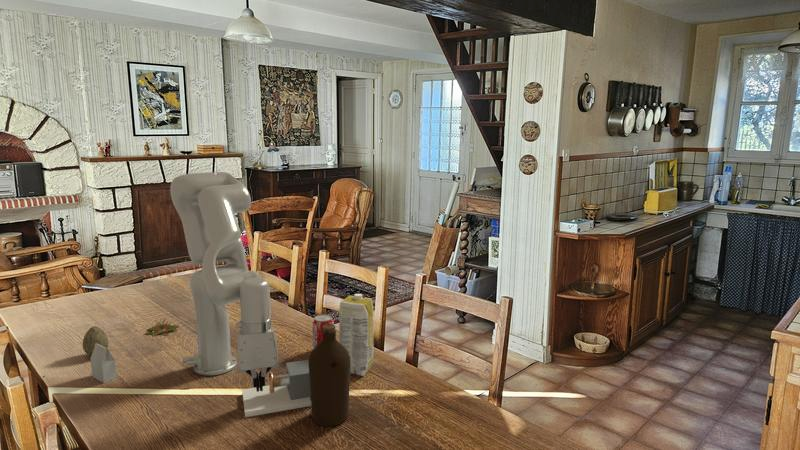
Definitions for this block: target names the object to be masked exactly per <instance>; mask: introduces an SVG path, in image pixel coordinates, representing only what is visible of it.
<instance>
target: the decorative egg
mask: <svg viewBox="0 0 800 450" xmlns="http://www.w3.org/2000/svg"><path fill="white" fill-rule="evenodd" d="M95 344H99V345H101V346H103V347H105V348H107V349H108V347H109V339H108V336H107V334H106V333H105V332H104V330H103V329H101V328H100V327H99V326H91V327H90V328H89V329H88V330H87V332H85V334H84V337H83V339H82V348H83V349H82V350H84V353H85V354H86V355H88V356H90V357H91V356H92V353H93V350H94V347H95Z"/></svg>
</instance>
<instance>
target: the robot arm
mask: <svg viewBox="0 0 800 450" xmlns="http://www.w3.org/2000/svg"><path fill="white" fill-rule="evenodd" d="M170 198H171V201H172V204H173V206H174V209H175V210H176V212H177V214H178V216H179V218H180V220H181V222H182V227H183V233H184V239H185V243H186V247H187V251H188V255H189V258H190V261H191V262H192V263H193V264H195V265H202V266H201V267H202V268H201V269H198V270H197V271H195V272H193V273H192V274H191V275H190V277H189V289H190V292H191V296H192V300H193V301H192V302H193V307H194V315H195V316H194V317H195V329H196V341H197V342H196V344H197V351H196V354H193V355H191V356H183V357H182V364H186V366H187V367H188V366H193V371H194V373H196V374H198V375H200V376H209V377H210V376H219V375H222V374H225V373H228V372H230V371H232V370H233V369H235V368H236V366H237V368H236V369H237V372H238V373H247V374H248V375H249V376H250V377H252V384H253V386H252V388H256V390H257V392H259V388H260V391H263V386H266V376H267V375H268V372H270V371H271V370H273V369H275V368H278V367H279V366H280V363H279V351H278V342H277V336H276V331H275V328H274V327H273V326H272V319H271V318H272V317H271V315H272V314H271V313H272V312H271V295H270V294H271V292H270V291H271V290H270V289H271V288H270V282H269V280H267V279H266V278H262V277H261V275H260V274H259V273H258V272H257V271H255V270H249V266H248V262H247V256H246V253H245V247H244V244H243V243H244V242H243V240H242V231H241V229H240V225H239V223H238V220H237V217H236V214H241V213H246V212H247V211H249V209H250V208H251V206H252V198H251V194H250V191H249V190H248V188H247V187H246V186H245V185H244V183H242V181H240V180H239V179H237V178H236V177H234V175H232V174H231V173H229V172H226V171H213V172H211V171H209V172H195V173H194V172H193V173H186V174H180V175H177V176H175V177H174V178H173V179H172V181H171V183H170ZM224 261H226V263H227V264H224V265H216V263H218V262H224ZM236 302H240V303H239V304H240V321H239V322H235V329H240V330H239V332H238V337H237V358H236V357H234V356H233V355H232V351H231V350H232V349H231V334H230V333H231V331H230V316H229V309H228V308H227V306H226V305H227V304H232V303H236ZM258 369H260V371H259V372H258V371H257V370H258Z"/></svg>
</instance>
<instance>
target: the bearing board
mask: <svg viewBox="0 0 800 450" xmlns="http://www.w3.org/2000/svg"><path fill="white" fill-rule="evenodd" d="M308 363H309V359H304V360H303V359H302V360H298V361H290V362H286V363H285V369H286V370H285V371H286V374H289V385H288V386H281V387H275V388H274V393H270V392H269V385H265V386H263V391H260V388H259V392H257V390H256V388H254V387H249V388H243V389H242V401H243V409H244V418H248V417H256V416H261V415H267V414H271V413H272V414H273V413H279V412H283V411H290V410H295V409H301V408H307V407H312V404H311V400H310V396H311V390H310V377H309V365H308Z"/></svg>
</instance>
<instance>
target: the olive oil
mask: <svg viewBox="0 0 800 450" xmlns="http://www.w3.org/2000/svg"><path fill="white" fill-rule="evenodd" d="M336 336H337V330H336V324H334V325H333V324H325V325H323V331H322V337H323V340H322V341H321V342H320V343H319V344H318V345H317V346H316V347H315V348H314V349H312V351H311V353H310V356H309V357H308V360H309V363H308V365H309V377H310V390H311V396H310V400H311V404H312V406H311V417H312V420H313V422H314V423H315V424H317V425H319V426H322V427H336V426H339V425H341V424H343V423H345V422H346V421H347V420H348V418H349V414H350V413H349V412H350V383H351V374H350V365H351V361H350V356H349V353H348V351H347V349H346V348H345V347H344V346H343V345H341V344H340V341H338V340H337V337H336Z"/></svg>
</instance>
